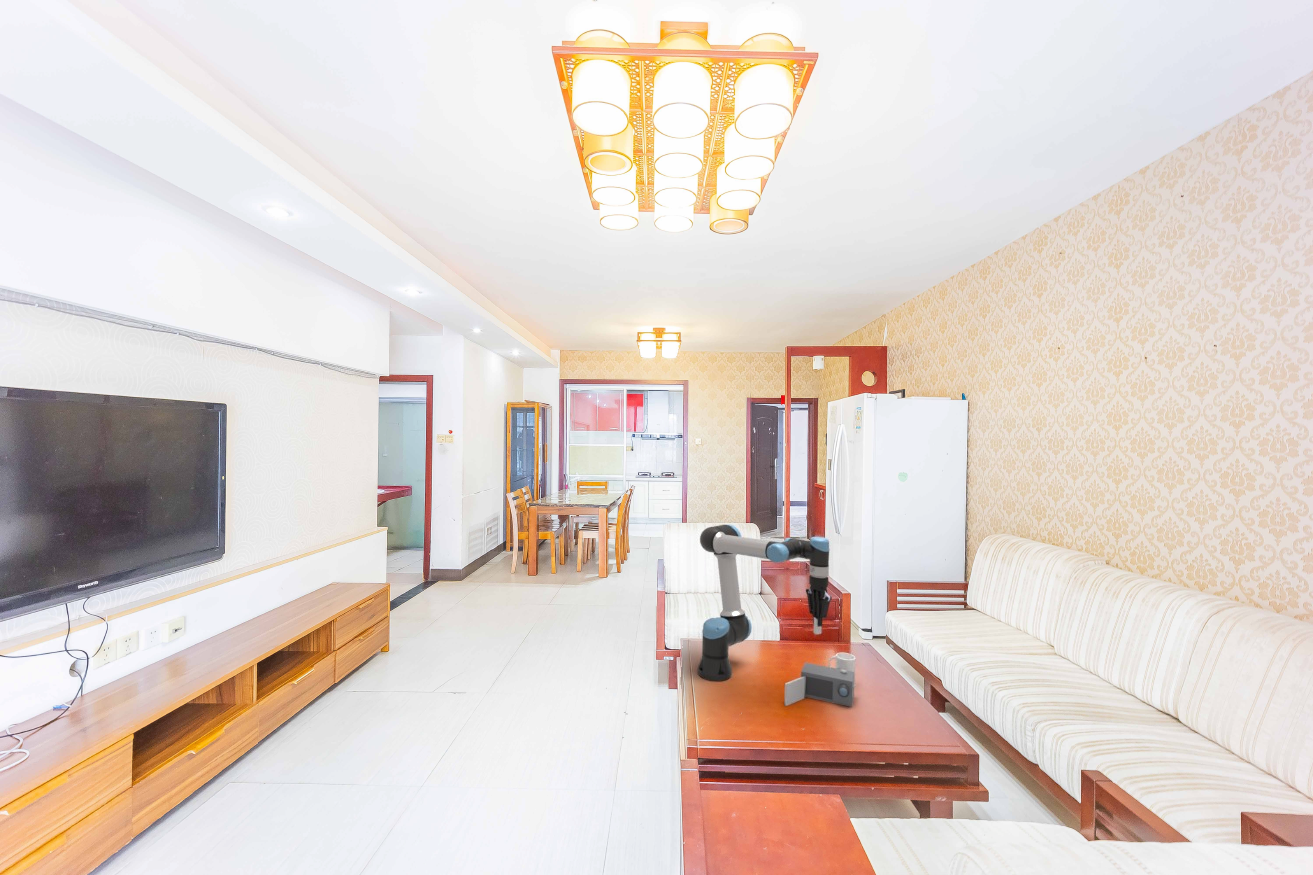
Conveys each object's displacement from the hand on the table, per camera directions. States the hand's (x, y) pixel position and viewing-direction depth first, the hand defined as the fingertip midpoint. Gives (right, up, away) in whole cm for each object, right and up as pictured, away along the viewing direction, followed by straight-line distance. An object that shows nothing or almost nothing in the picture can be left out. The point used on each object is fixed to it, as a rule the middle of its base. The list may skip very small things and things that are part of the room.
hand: (817, 633), depth 219 cm
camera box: (+5, -27, +2) cm, 27 cm away
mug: (+15, -27, +15) cm, 34 cm away
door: (-10, -26, -3) cm, 28 cm away
